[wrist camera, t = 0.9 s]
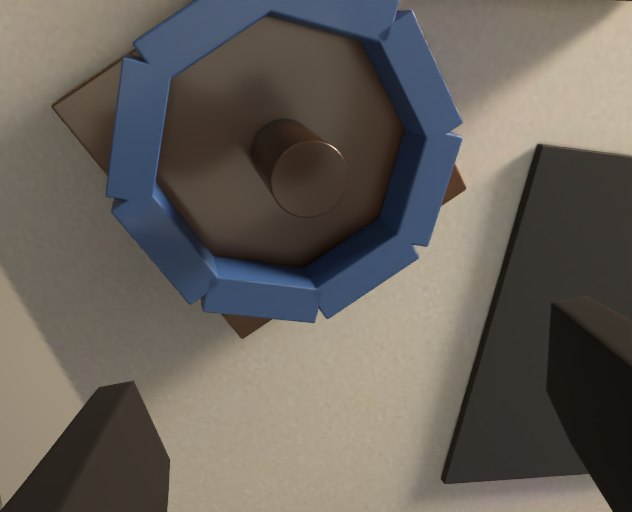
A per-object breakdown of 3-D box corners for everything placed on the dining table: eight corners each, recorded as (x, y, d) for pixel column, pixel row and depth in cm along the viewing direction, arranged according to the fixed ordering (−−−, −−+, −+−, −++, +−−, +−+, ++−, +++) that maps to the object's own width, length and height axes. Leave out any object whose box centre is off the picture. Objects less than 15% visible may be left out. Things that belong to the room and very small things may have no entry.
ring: (240, 346, 23) (247, 374, 21) (39, 104, 18) (26, 113, 16) (474, 190, 23) (500, 204, 21) (339, -97, 18) (359, -111, 16)
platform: (238, 328, 24) (257, 399, 19) (54, 102, 19) (21, 126, 14) (456, 182, 24) (525, 220, 19) (328, -82, 19) (381, -115, 14)
